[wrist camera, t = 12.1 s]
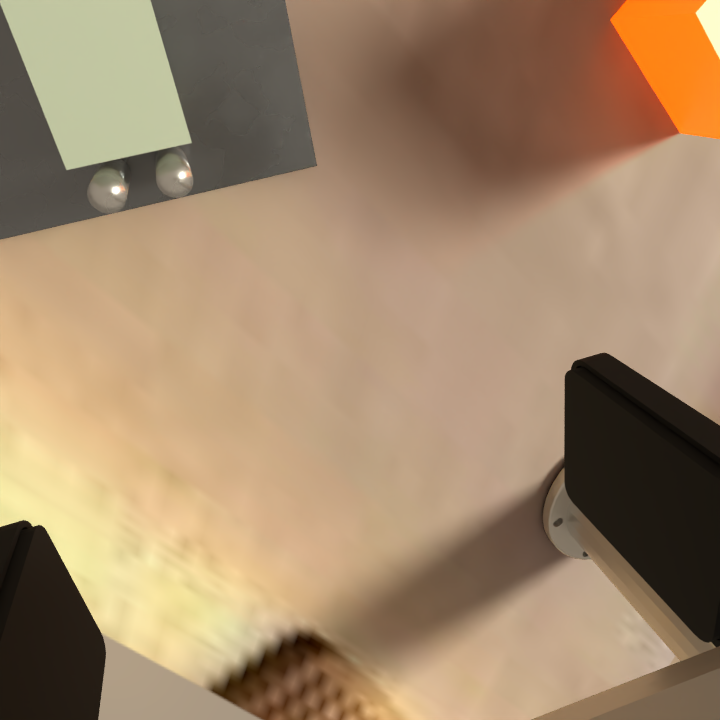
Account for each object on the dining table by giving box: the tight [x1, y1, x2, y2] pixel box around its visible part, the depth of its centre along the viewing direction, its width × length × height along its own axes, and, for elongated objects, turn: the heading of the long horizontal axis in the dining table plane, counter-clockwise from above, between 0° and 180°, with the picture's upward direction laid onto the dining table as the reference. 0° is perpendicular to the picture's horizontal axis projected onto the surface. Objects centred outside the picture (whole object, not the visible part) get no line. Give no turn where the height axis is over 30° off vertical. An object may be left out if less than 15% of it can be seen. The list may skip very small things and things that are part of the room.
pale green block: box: [0, 0, 192, 170], centre depth 21 cm, size 4×9×4 cm, turn 10°
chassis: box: [0, 0, 317, 239], centre depth 23 cm, size 16×15×6 cm
